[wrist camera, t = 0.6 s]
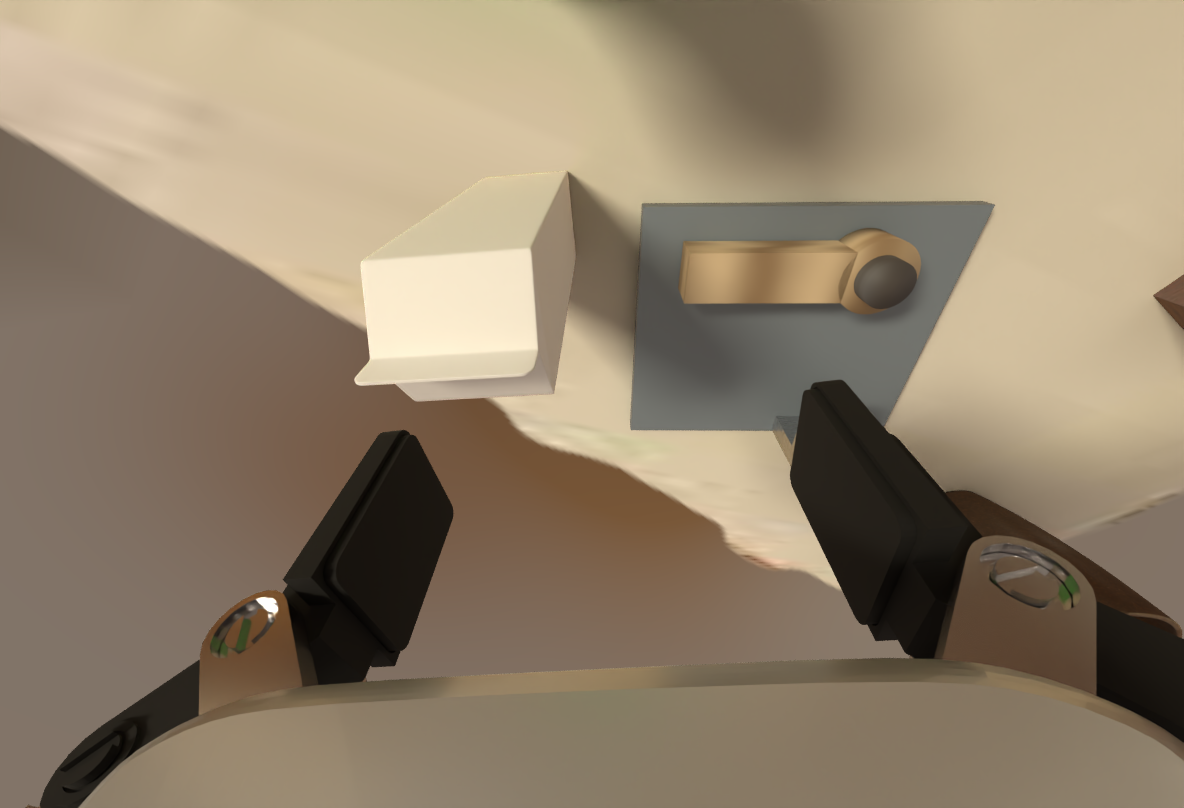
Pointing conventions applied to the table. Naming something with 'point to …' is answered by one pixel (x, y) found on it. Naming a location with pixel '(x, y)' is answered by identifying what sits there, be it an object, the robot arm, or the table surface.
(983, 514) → the plant pot
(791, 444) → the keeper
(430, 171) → the table surface
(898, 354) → the board
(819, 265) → the link
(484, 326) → the milk
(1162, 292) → the tissue box cover
